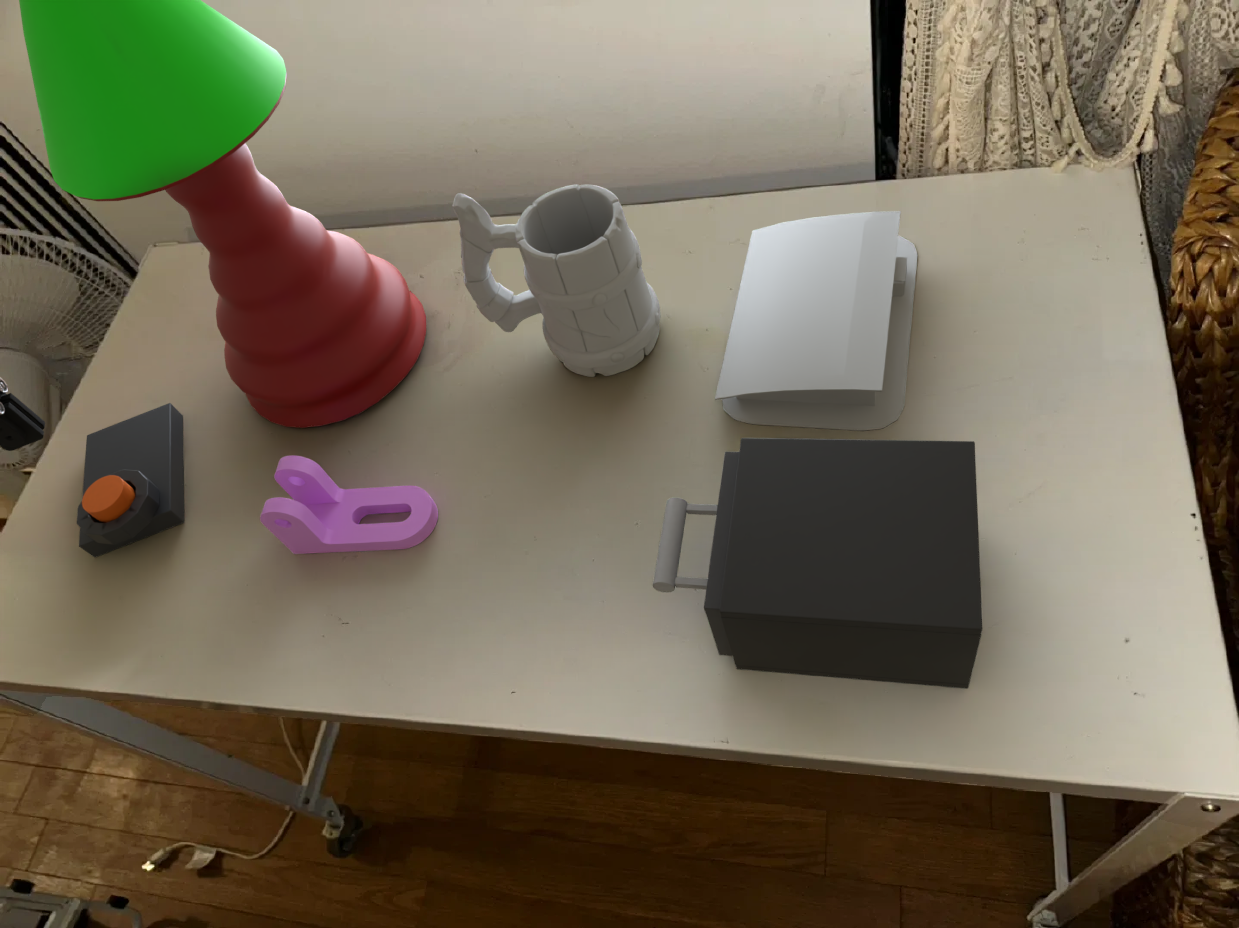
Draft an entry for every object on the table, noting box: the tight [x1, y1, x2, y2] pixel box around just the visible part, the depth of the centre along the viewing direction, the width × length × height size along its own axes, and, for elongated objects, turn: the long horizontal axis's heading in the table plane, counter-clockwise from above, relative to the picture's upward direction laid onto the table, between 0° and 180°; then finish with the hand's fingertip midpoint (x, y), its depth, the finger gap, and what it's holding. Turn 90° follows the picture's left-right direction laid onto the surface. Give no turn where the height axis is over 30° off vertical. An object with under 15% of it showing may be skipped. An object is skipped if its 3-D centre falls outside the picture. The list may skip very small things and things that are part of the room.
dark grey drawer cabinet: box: [720, 437, 984, 690], centre depth 63 cm, size 16×14×10 cm
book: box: [714, 210, 918, 432], centre depth 81 cm, size 15×23×4 cm, turn 167°
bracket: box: [259, 454, 439, 555], centre depth 78 cm, size 13×6×7 cm, turn 86°
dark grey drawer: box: [651, 451, 739, 657], centre depth 64 cm, size 19×12×8 cm, turn 80°
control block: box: [76, 402, 185, 558], centre depth 87 cm, size 15×9×4 cm, turn 18°
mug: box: [452, 183, 662, 378], centre depth 81 cm, size 11×17×17 cm, turn 82°
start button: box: [81, 475, 135, 522], centre depth 83 cm, size 4×4×2 cm
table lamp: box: [18, 0, 427, 429], centre depth 76 cm, size 20×20×45 cm
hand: (27, 437), depth 74 cm, fingers closed
